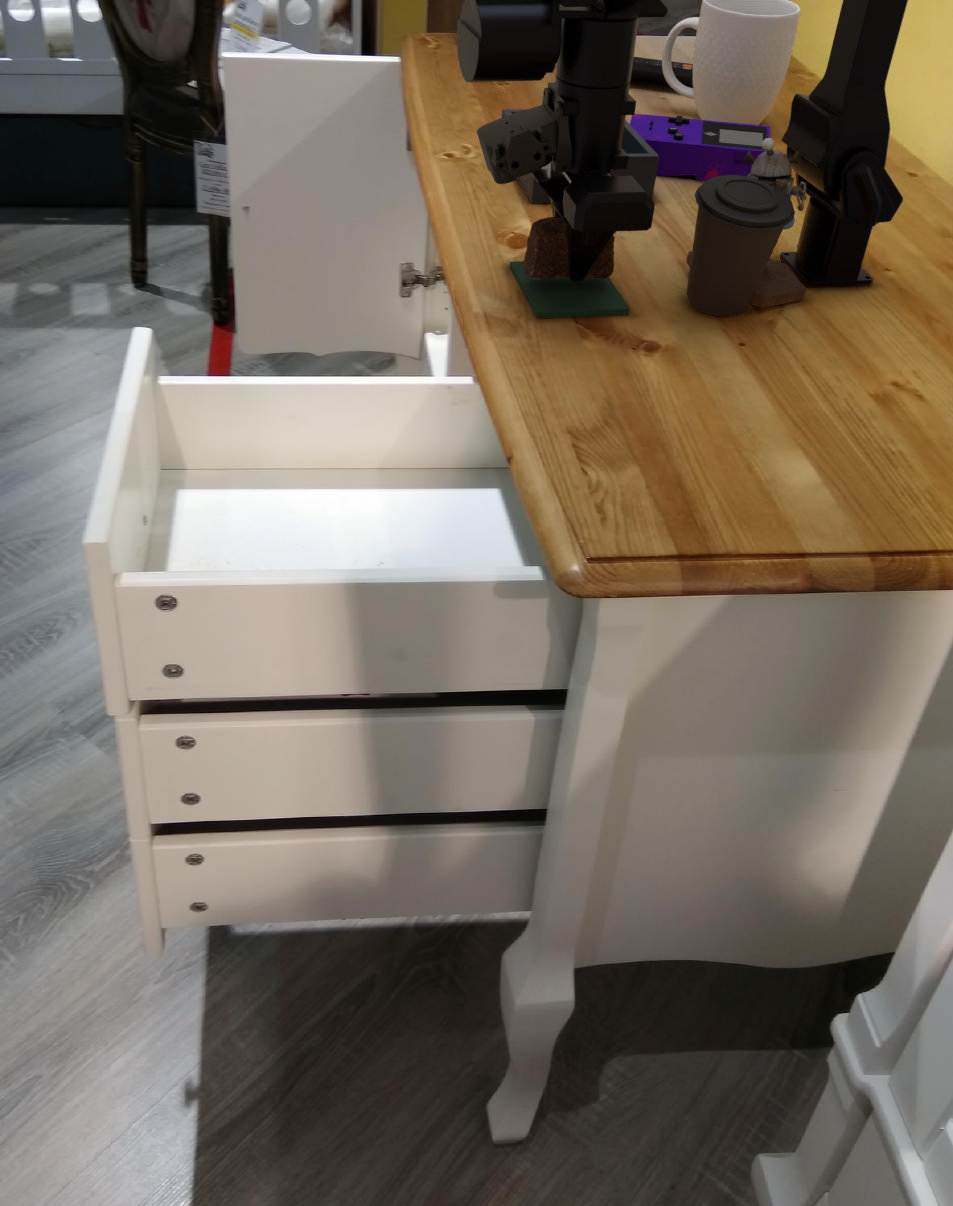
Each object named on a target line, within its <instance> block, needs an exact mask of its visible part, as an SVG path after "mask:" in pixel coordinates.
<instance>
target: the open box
mask: <svg viewBox="0 0 953 1206" xmlns="http://www.w3.org/2000/svg"><path fill="white" fill-rule="evenodd" d="M525 109H526V108H525ZM525 109H524V108H523V109H522V108H521V109H520V108H515V109H514V108H512V109H510V108H508V109H505V108H504V109H501V118H503V117H506V116H508V115H511V114H513V113H516V112H519V111H521V110H525ZM622 149H623V150H624V151H625V152H626V154H627V155H628V156H629V158H628V165H627V169H611V173H609V174H610V176H632V177H633V178H634V179H635V180H636V181H637V183H638V184H639V185H640V186H641V187H642V189H643V190H644V191H645V192H646V193H647V194H648V196H649V197H650V198H651V199H652V200H653V197H654V191H655V185H656V179H657V175H656V173H657V167H658V160H659V155H658V154H657V153H656V152H655V151H654V150H653V149H652V148H651V147H650V146H649V145H648V144H647V143H646V141H645V140H644V139H643V138H642V137H641V136H640V135H639V134H638V133H637V132H636V131H635V130H634V128H633V127H632V126H631V125H630V122H629V121H627V120H626V119H625V125H624V133H623V140H622ZM516 182H518V184H519V186H520V188H521V189H522V191H523V192H524V194H525V195H526V197H527V199H528V200H529V202H530V203H531V204H551V202H550V197H549V195H548V194H547V193H546V192H545V191H544V190H543V189H542V188H541V186H540V185H539V184H538V182H537V181H536V179H535V178H534V176H533V175H532V173H528V174H526V175H523V176H521V177H517V178H516Z"/></svg>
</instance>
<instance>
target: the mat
mask: <svg viewBox="0 0 953 1206" xmlns="http://www.w3.org/2000/svg"><path fill="white" fill-rule="evenodd" d="M508 268H509V270H510V272H511V273H512V275H513V277H514V279H515V281H516V283H517V285H518V286H519V288H520V291H521V292H522V294H523V296H524V298H525V299H526V302H527V303H528V305H529V307H530V309H531V310H532V313H533V314H534V316H535V318H536V319H538V320H539V319H559V318H560V319H561V318H583V317H584V318H585V317H587V318H589V317H612V316H613V317H615V316H629V315H630V312H631V307H630V306H629V305H628V303H627V302H626V300H625V299H624V297H623V296H622V294H621V293H620V292H619V290H618V289H617V287H616V286H615V284H614V283H613V281H612V280H611V278H610V276H609V277H607V278H606V279H605V278H584V279H583V280H582V281H571V279H570V277H554V278H550V279H544V278H535V277H529V276H528V275H527V274H525V262H524V260H517V261H516V260H513V261H511V260H510V261H509V267H508Z"/></svg>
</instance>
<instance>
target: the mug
mask: <svg viewBox="0 0 953 1206" xmlns="http://www.w3.org/2000/svg"><path fill="white" fill-rule="evenodd" d="M801 10H802V9H801V7H800V5H798V4H797V3H796V2H794V1H791V0H702V1H701V7H700V12H699V16H692V17H687V18H684V19H682V20H681V21H679V22H678V23H676V24H675V25H674V26H673V27H672V29H670V31H669V33H668V34H667V37H666V39H665V41H664V45H663V49H662V53H661V60H662V69H663V74H664V77H665V79H666V81H667V83H668V84H667V85H668V86H669V87H670V88H671V89H673V90H674V91H675V92H676V93H678V94H680V96H683V97H685V98H687V99H690V100H693V101H694V104H695V108H696V112H697V114H698V117H699V120H708V121H719V122H729V123H740V124H751V125H760V124H762V122H763V121H764V119H766V117H767V116H768V115H769V113H770V111H771V109H772V108H773V106H774V104H775V103H776V100H777V99H778V98H779V97H778V96H779V93H780V92H781V90H782V86H783V85H784V81H785V79H786V75H787V72H788V70H789V66H790V61H791V58H792V53H793V49H794V46H795V41H796V35H797V33H798V27H799V26H798V25H799V21H800V17H801V13H802V12H801ZM688 28H689V29H690V28H691V29H693V30H695V31H696V34H695V35H696V36H695V40H694V51H693V57H692V60H693V61H692V62H693V63H692V64H693V87H689V86H685V85H683V84H681V83H680V82H679V81H678V80H677V78H676V77H675V75H674V73H673V70H672V64H671V61H672V53H673V49H674V45H675V42H676V39H677V37H678V36H679V34H680V33H681V32H682V31H683V30H685V29H688Z"/></svg>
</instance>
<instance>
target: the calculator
mask: <svg viewBox="0 0 953 1206" xmlns="http://www.w3.org/2000/svg"><path fill="white" fill-rule="evenodd" d="M671 64H672V70H673V73H674V75H675V77H676V78H677V80H678V81H679V82H680V83H681V84H683V85H685V86H687V87H689V88H693V63H687V62H679V61H672V60H671ZM631 80H635V81H644V82H651V83H659V84H667V85H669V84H668V83H667V81H666V79H665V77H664V74H663V69H662V59H657V58H649V57H642V56H641V57H639V56H634V58H633V65H632V73H631Z"/></svg>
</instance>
